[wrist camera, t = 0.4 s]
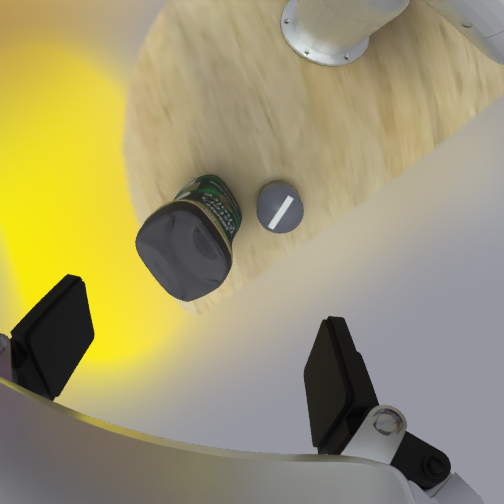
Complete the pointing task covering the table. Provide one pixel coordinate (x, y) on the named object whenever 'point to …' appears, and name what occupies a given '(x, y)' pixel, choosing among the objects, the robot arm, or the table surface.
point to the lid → (279, 207)
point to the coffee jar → (191, 239)
